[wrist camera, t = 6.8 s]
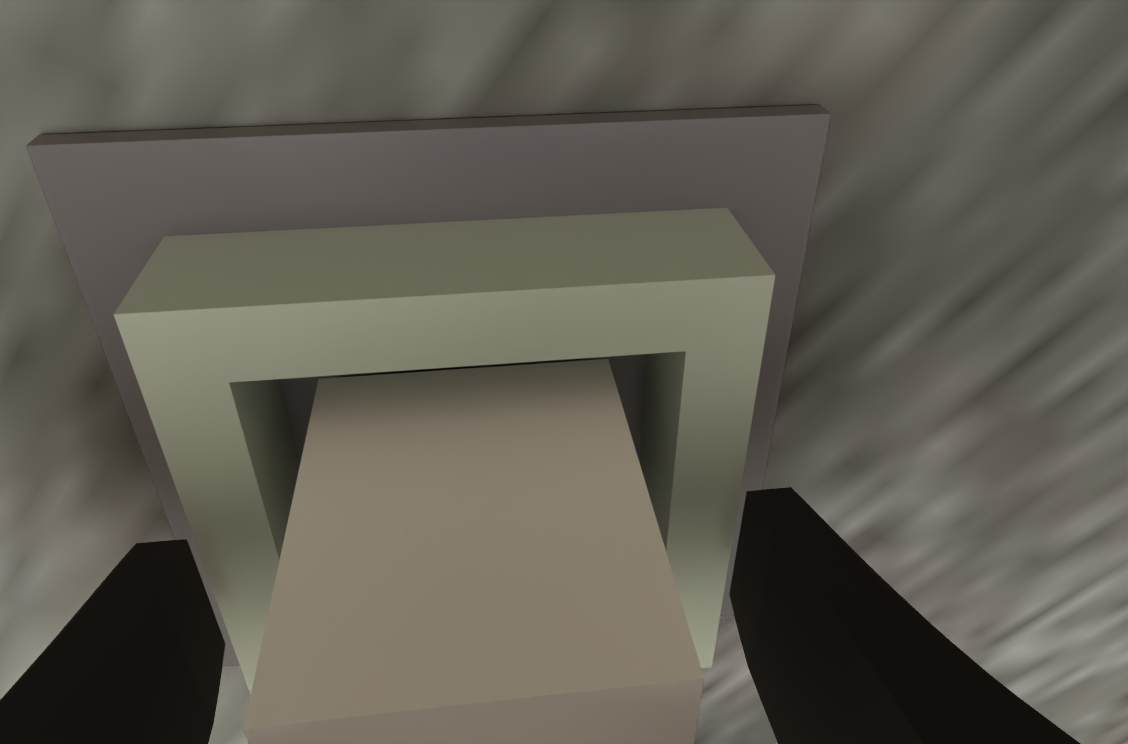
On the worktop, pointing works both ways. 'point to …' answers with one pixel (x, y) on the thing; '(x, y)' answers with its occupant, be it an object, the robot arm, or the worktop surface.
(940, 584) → the worktop surface
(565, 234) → the socket block
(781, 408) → the worktop surface
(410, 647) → the plug
